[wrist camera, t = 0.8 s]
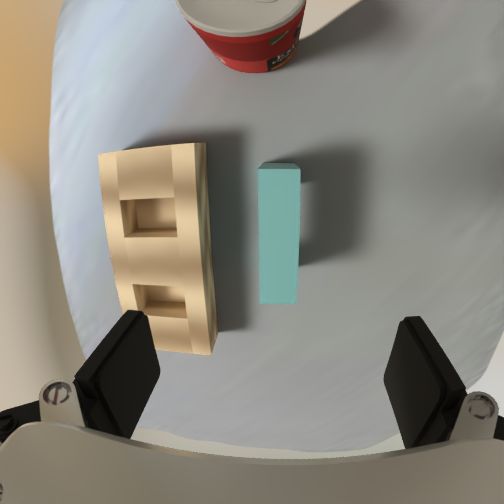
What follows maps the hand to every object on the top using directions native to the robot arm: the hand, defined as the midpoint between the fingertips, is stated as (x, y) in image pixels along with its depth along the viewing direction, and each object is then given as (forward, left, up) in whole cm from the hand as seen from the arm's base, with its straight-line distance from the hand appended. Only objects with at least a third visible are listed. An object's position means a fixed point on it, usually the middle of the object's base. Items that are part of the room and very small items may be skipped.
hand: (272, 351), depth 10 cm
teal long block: (0, 0, -18) cm, 19 cm away
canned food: (-17, -2, -19) cm, 26 cm away
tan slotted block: (+3, -11, -18) cm, 22 cm away
